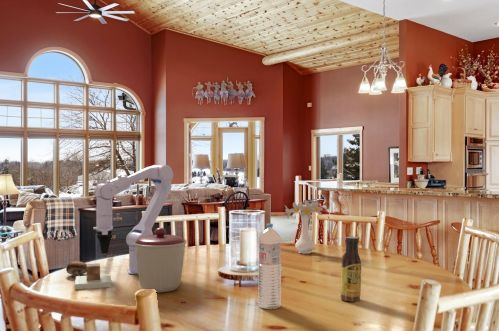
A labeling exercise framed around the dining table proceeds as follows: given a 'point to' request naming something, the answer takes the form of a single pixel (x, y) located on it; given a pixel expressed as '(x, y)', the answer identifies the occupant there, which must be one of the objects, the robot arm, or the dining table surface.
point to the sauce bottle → (351, 271)
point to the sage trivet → (92, 282)
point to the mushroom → (76, 268)
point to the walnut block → (93, 271)
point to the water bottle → (269, 269)
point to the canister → (160, 260)
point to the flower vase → (304, 224)
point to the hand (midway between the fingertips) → (104, 251)
